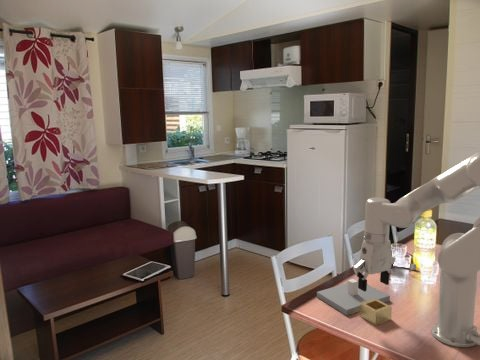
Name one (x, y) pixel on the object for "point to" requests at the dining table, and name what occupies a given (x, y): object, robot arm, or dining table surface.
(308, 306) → the dining table surface
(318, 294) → the post stand
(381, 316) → the collar
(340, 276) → the dining table surface
